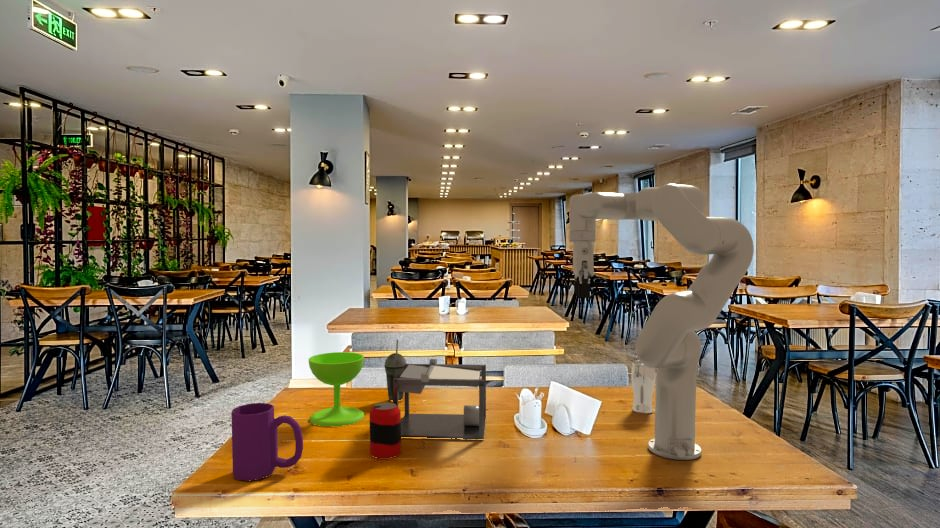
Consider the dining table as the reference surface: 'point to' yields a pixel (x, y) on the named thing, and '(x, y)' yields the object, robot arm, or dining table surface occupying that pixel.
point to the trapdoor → (434, 375)
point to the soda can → (385, 430)
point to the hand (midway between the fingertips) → (581, 295)
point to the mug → (259, 441)
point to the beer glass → (642, 387)
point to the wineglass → (336, 385)
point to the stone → (471, 415)
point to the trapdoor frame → (442, 423)
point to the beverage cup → (394, 371)
